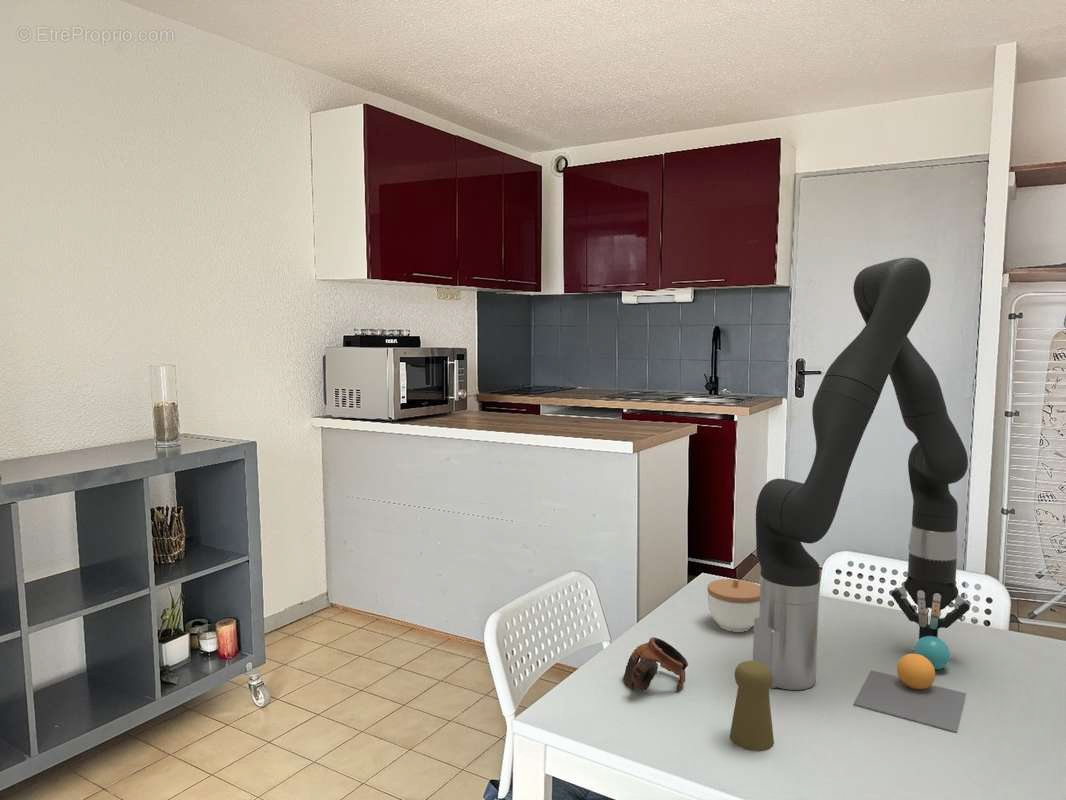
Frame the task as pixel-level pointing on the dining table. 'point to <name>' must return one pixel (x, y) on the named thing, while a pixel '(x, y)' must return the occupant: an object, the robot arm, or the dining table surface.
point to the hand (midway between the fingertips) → (927, 646)
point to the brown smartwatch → (653, 663)
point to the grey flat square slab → (912, 701)
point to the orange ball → (916, 671)
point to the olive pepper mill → (752, 707)
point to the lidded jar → (734, 603)
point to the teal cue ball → (933, 651)
